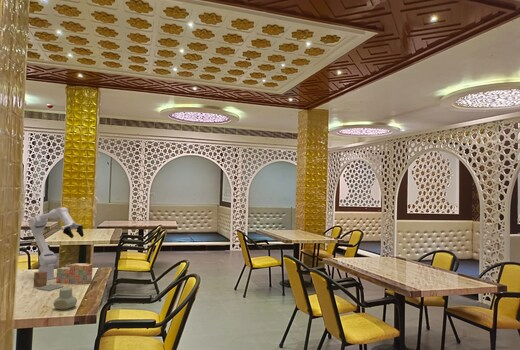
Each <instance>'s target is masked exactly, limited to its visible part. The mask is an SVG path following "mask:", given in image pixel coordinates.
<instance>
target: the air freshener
mask: <svg viewBox="0 0 520 350" xmlns="http://www.w3.org/2000/svg"><path fill="white" fill-rule="evenodd" d="M58 295H59V296H58V297H57V298H55V300H54V301H53V303H52V304H53V306H54V308H55V309H58V310H60V311H65V310H69V309H72V308H73V307H74V306H77V303H78V300H77V297H75V296H74V295H73V288H72V287H62V288H59V293H58Z"/></svg>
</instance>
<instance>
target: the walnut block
mask: <svg viewBox="0 0 520 350" xmlns="http://www.w3.org/2000/svg"><path fill="white" fill-rule="evenodd" d="M47 281H48V280H47V272H44V271H39V272H38V271H36V272H34V273H33V288H35V289H36V288H38V287H42V286H46V285H48V284H47Z"/></svg>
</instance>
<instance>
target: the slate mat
mask: <svg viewBox="0 0 520 350" xmlns="http://www.w3.org/2000/svg"><path fill="white" fill-rule="evenodd" d="M61 288H64V285H57V284H51V283H50V284H47V285H46V286H42V287H38V288H36V287H35V289H36V290H41V291H46V292H51V291H54V290H58V289H59V290H60V289H61Z"/></svg>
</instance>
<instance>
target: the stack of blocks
mask: <svg viewBox="0 0 520 350" xmlns="http://www.w3.org/2000/svg"><path fill="white" fill-rule="evenodd" d="M93 265H94V264H93V263H76V262H75V263H72V265H70V266H69V267H66V266H62V267H58V268H57V269H56V277H57V278H56V283H58V284H73V285H89V284H91V283H92V282H93V267H94V266H93Z"/></svg>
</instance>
